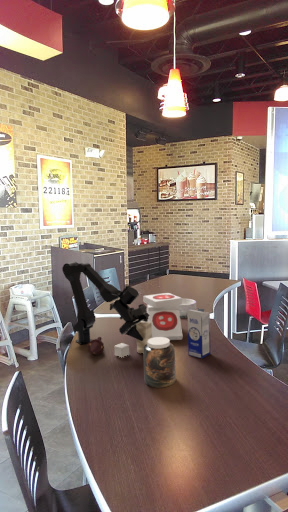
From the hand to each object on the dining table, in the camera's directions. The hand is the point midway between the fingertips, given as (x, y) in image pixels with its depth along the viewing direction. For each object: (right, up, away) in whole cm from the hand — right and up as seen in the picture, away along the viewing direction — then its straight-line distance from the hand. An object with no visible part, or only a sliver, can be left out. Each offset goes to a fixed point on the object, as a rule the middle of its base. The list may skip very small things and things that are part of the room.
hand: (147, 337), depth 163 cm
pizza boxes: (+9, -4, +24) cm, 26 cm away
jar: (+5, -10, -27) cm, 30 cm away
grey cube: (-11, -7, -2) cm, 13 cm away
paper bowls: (+23, +1, +60) cm, 64 cm away
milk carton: (+22, -6, -4) cm, 24 cm away
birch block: (-1, -7, +1) cm, 7 cm away
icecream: (-22, -8, +1) cm, 24 cm away
